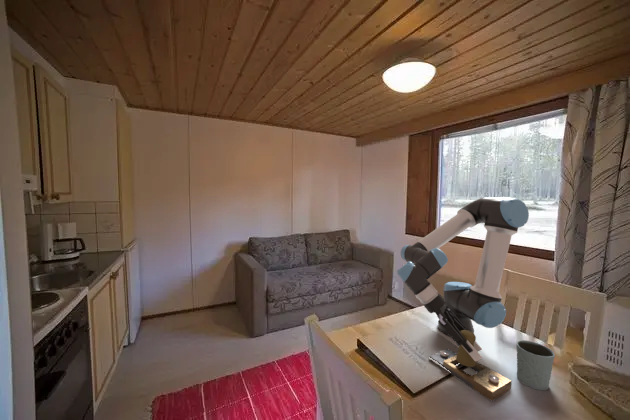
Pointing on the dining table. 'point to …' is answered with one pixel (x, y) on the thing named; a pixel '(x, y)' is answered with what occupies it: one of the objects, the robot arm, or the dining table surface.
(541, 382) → the grey green cup
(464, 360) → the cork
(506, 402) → the dining table surface
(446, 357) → the slotted wooden plate
